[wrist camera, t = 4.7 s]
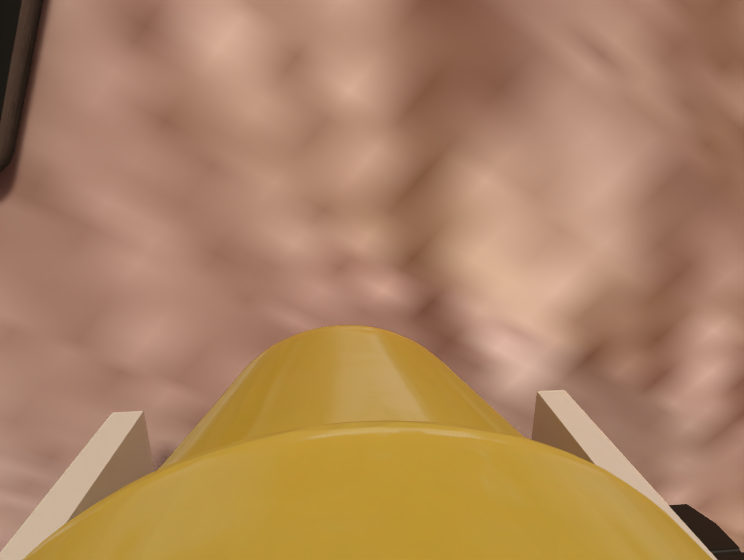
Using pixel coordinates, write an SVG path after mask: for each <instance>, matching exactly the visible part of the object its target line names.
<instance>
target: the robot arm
mask: <svg viewBox="0 0 744 560" xmlns="http://www.w3.org/2000/svg"><path fill="white" fill-rule="evenodd" d="M531 440H534V441H537V442H540V443H544V444H547V445H550V446H552V447H555V448H558V449H560V450H563V451H566V452H568V453H571V454H573V455H575V456H577V457H580V458H582V459H584V460H586V461H588V462H591V463H593V464H595V465H597V466H599V467H601V468H603V469H605V470H607V471H608V472H610V473H612V474H613V475H615V476H616V477H618V478H619V479H621V480H623V481H624V482H626V483H627V484H629V485H630V486H632V487H633V488H634V489H636V490H637V491H639V492H640V493H642V494H643V495H644V496H646V497H647V498H649V499H650V500H651V501H652V502H654V503H655V504H656V505H657V506H659V507H660V508H661V509H662V510H664V511H665V512H666V513H667V514H668V515H669V516H670V517H671V518H672V519H673V520H674V521H675V522H676V523H677V524H678V525H679V526H680V527H681V528H682V529H683V530H684V531H685V532H686V533H687V534H688V535H689V536H690V537H691V538H692V539H693V540H694V541H695V542H696V543H697V544H698V545H699V546H700V547H701V548H702V549H703V550H704V551H705V552H706V553H707V554H708V555H709V556H710V557H711V558H712V559H713V560H744V552H743V553H742V552H741V551H740V549H739V547H738V546H737V545H736V544H735V543H734V542H733V541H732V540H731V539H730V538H729V537H728V536H727V534H726V533H725V532H724V531H723V530H722V529H721V528H720V527H719V526H718V525H717V524H716V523H714V522H713V521H711V520H710V519H708V518H707V517H705V516H704V515H702V514H701V513H699V512H698V511H696V510H695V509H693V508H692V507H690V506H689V505H687V504H682V505H668V504H667V503H666V502H665V501H664V500H663V499H662V498H661V496H660V495H659V494H658V493H657V492H656V491H655V490H654V489H653V488H652V486H651V485H650V484H649V483H648V482H647V481H646V480H645V479H644V478H643V476H642V475H641V474H640V473H639V472H638V471H637V470H636V469H635V468H634V467H633V465H632V464H631V463H630V462H629V461H628V460H627V459H626V458H625V457H624V455H623V454H622V453H621V452H620V451H619V450H618V449H617V448H616V447H615V445H614V444H613V443H612V442H611V441H610V440H609V439H608V438H607V437H606V435H605V434H604V433H603V432H602V431H601V430H600V429H599V428H598V427H597V426H596V424H595V423H594V422H593V421H592V420H591V419H590V418H589V417H588V416H587V414H586V413H585V412H584V411H583V410H582V409H581V408H580V407H579V406H578V404H577V403H576V402H575V401H574V400H573V399H572V398H571V397H570V396H569V394H568V393H567V392H566V391H565V390H553V391H537V397H536V405H535V414H534V422H533V431H532V439H531ZM154 471H155V470H154V464H153V459H152V453H151V448H150V443H149V437H148V432H147V427H146V421H145V416H144V411H132V412H112V414H111V415H110V416H109V417H108V419H107V420H106V421H105V422H104V424H103V425H102V426H101V427H100V429H99V430H98V431H97V432H96V434H95V435H94V436H93V437H92V439H91V440H90V441H89V442H88V444H87V445H86V446H85V447H84V449H83V450H82V451H81V452H80V454H79V455H78V456H77V457H76V459H75V460H74V461H73V462H72V463H71V465H70V466H69V467H68V468H67V470H66V471H65V472H64V473H63V475H62V476H61V477H60V478H59V480H58V481H57V482H56V483H55V485H54V486H53V487H52V488H51V490H50V491H49V492H48V493H47V495H46V496H45V497H44V498H43V500H42V501H41V502H40V503H39V505H38V506H37V507H36V508H35V510H34V511H33V512H32V513H31V515H30V516H29V517H28V518H27V520H26V521H25V522H24V523H23V525H22V526H21V527H20V528H19V530H18V531H17V532H16V533H15V535H14V536H13V537H12V538H11V540H10V541H9V542H8V543H7V545H6V546H5V547H4V548H3V550H2V551H1V552H0V560H22V559H24V558H25V557H26V556H27V555H28V554H29V553H30V552H31V551H33V550H34V549H35V548H36V547H37V546H38V545H39V544H40V543H41V542H43V541H44V540H45V539H46V538H48V537H49V536H50V535H51V534H53V533H54V532H55V531H57V530H58V529H59V528H60V527H62V526H63V525H64V524H66V523H67V522H69V521H70V520H71V519H73V518H74V517H76V516H77V515H79V514H80V513H82V512H83V511H85V510H86V509H88V508H89V507H91V506H92V505H94V504H95V503H97V502H99V501H100V500H102V499H104V498H106V497H107V496H109V495H111V494H112V493H114V492H116V491H118V490H119V489H121V488H123V487H124V486H126V485H128V484H130V483H132V482H134V481H136V480H138V479H140V478H142V477H144V476H146V475H148V474H150V473H152V472H154Z"/></svg>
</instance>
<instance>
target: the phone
mask: <svg viewBox="0 0 744 560" xmlns="http://www.w3.org/2000/svg"><path fill="white" fill-rule="evenodd" d="M42 4H43V0H0V172H2V171H3V170H4V168H5V167H6V166H7V165H8V164H9V163H10V161H11V159H12V156H13V153H14V150H15V145H16V140H17V135H18V130H19V124H20V119H21V114H22V109H23V103H24V98H25V93H26V88H27V82H28V77H29V72H30V67H31V61H32V56H33V51H34V46H35V40H36V35H37V30H38V25H39V19H40V14H41V9H42Z"/></svg>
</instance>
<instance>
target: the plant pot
mask: <svg viewBox="0 0 744 560" xmlns="http://www.w3.org/2000/svg"><path fill="white" fill-rule="evenodd" d="M22 560H713V559H712V558H711V557H710V556H709V555H708V554H707V553H706V552H705V551H704V550H703V549H702V548H701V547H700V546H699V545H698V544H697V543H696V542H695V541H694V540H693V539H692V538H691V537H690V536H689V535H688V534H687V533H686V532H685V531H684V530H683V529H682V528H681V527H680V526H679V525H678V524H677V523H676V522H675V521H674V520H673V519H672V518H671V517H670V516H669V515H668V514H667V513H666V512H665V511H664V510H662V509H661V508H660V507H659V506H657V505H656V504H655V503H654V502H652V501H651V500H650V499H649V498H647V497H646V496H644V495H643V494H642V493H640V492H639V491H637V490H636V489H634V488H633V487H632V486H630V485H629V484H627V483H626V482H624V481H623V480H621V479H619V478H618V477H616V476H615V475H613V474H612V473H610V472H608V471H607V470H605V469H603V468H601V467H599V466H597V465H595V464H593V463H591V462H588V461H586V460H584V459H582V458H580V457H577V456H575V455H573V454H571V453H568V452H566V451H563V450H560V449H558V448H555V447H552V446H550V445H547V444H544V443H540V442H537V441H534V440H531V439H528V438H524V437H523V436H522V435H521V434H520V433H519V432H518V431H517V430H516V429H515V428H514V427H512V426H511V425H510V424H509V423H508V422H507V421H506V420H505V419H504V418H503V417H502V416H500V415H499V414H498V413H497V412H496V411H495V410H494V409H493V408H492V407H491V406H490V405H489V404H487V403H486V402H485V401H484V400H483V399H482V398H481V397H480V396H479V395H478V394H477V393H475V392H474V391H473V390H472V389H471V388H470V387H469V386H468V385H467V384H466V383H465V382H463V381H462V380H461V379H460V378H459V377H458V376H457V375H456V374H455V373H454V372H453V371H451V370H450V369H449V368H448V367H447V366H446V365H445V364H444V363H443V362H442V361H440V360H439V359H438V358H437V357H436V356H434V355H433V354H432V353H430V352H429V351H428V350H427V349H425V348H424V347H422V346H421V345H419V344H417V343H416V342H414V341H412V340H410V339H408V338H406V337H403V336H401V335H398V334H396V333H393V332H391V331H387V330H383V329H379V328H375V327H369V326H360V325H338V326H327V327H321V328H316V329H312V330H308V331H305V332H302V333H299V334H296V335H294V336H291V337H289V338H287V339H284V340H282V341H280V342H279V343H277V344H275V345H273V346H272V347H270V348H268V349H267V350H265V351H264V352H263V353H261V354H260V355H259V356H258V357H257V358H255V359H254V360H253V361H252V362H251V363H250V364H249V365H248V366H247V367H246V368H245V369H244V370H243V371H242V373H241V374H240V375H239V376H238V377H237V378H236V380H235V381H234V382H233V383H232V384H231V386H230V387H229V388H228V389H227V390H226V392H225V393H224V394H223V395H222V396H221V398H220V399H219V400H218V401H217V402H216V403H215V405H214V406H213V407H212V408H211V409H210V411H209V412H208V413H207V414H206V415H205V416H204V417H203V419H202V420H201V421H200V422H199V423H198V424H197V426H196V427H195V428H194V429H193V430H192V431H191V432H190V434H189V435H188V436H187V437H186V438H185V439H184V440H183V442H182V443H181V444H180V445H179V446H178V447H177V448H176V450H175V451H174V452H173V453H172V454H171V455H170V457H169V458H168V459H167V460H166V461H165V462H164V463H163V465H162V466H161V467H160V468H159V469H158V470H157V471H154V472H152V473H150V474H148V475H146V476H144V477H142V478H140V479H138V480H136V481H134V482H132V483H130V484H128V485H126V486H124V487H123V488H121V489H119V490H118V491H116V492H114V493H112V494H111V495H109V496H107V497H106V498H104V499H102V500H100V501H99V502H97V503H95V504H94V505H92V506H91V507H89V508H88V509H86V510H85V511H83V512H82V513H80V514H79V515H77V516H76V517H74V518H73V519H71V520H70V521H69V522H67V523H66V524H64V525H63V526H62V527H60V528H59V529H58V530H57V531H55V532H54V533H53V534H51V535H50V536H49V537H48V538H46V539H45V540H44V541H43V542H41V543H40V544H39V545H38V546H37V547H36V548H35V549H34V550H33V551H31V552H30V553H29V554H28V555H27V556H26V557H25V558H24V559H22Z"/></svg>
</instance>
